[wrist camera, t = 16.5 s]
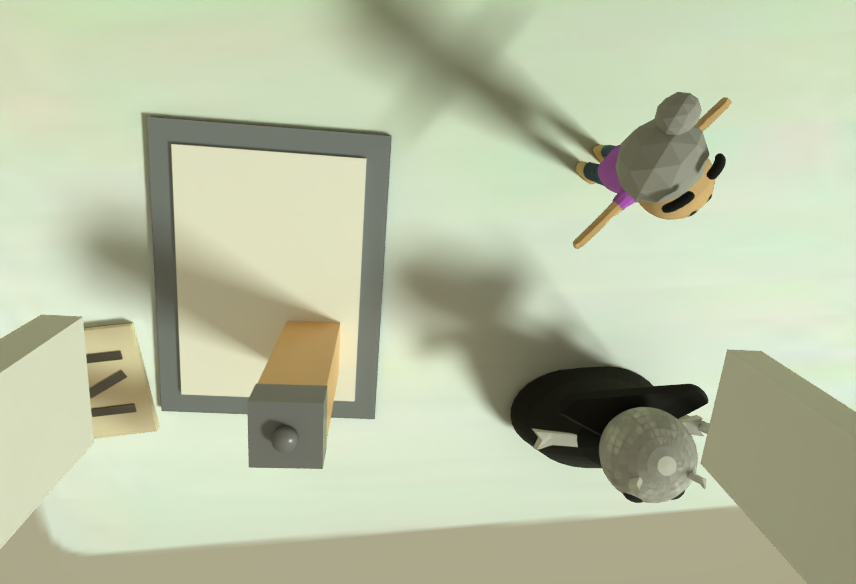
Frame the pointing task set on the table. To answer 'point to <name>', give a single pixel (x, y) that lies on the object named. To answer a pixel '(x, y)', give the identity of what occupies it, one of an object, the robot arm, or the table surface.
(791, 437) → the robot arm
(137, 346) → the word card
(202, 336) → the grey framed cream board
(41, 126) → the table surface
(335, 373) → the tan grey knobbed box
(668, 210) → the toy
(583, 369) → the toy
